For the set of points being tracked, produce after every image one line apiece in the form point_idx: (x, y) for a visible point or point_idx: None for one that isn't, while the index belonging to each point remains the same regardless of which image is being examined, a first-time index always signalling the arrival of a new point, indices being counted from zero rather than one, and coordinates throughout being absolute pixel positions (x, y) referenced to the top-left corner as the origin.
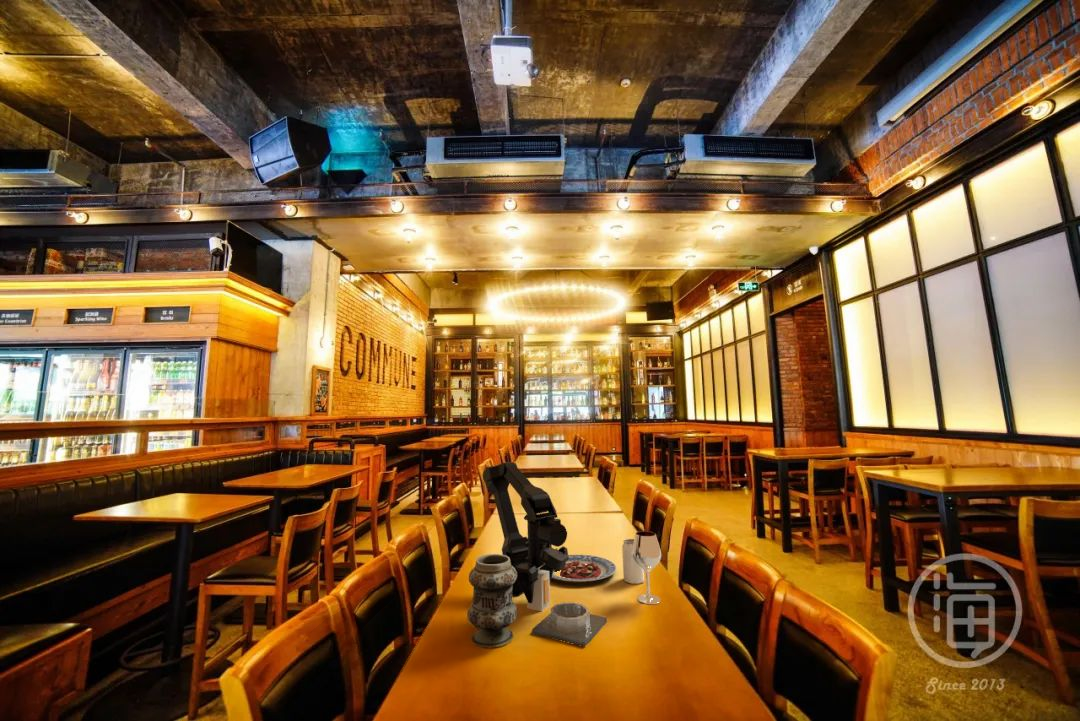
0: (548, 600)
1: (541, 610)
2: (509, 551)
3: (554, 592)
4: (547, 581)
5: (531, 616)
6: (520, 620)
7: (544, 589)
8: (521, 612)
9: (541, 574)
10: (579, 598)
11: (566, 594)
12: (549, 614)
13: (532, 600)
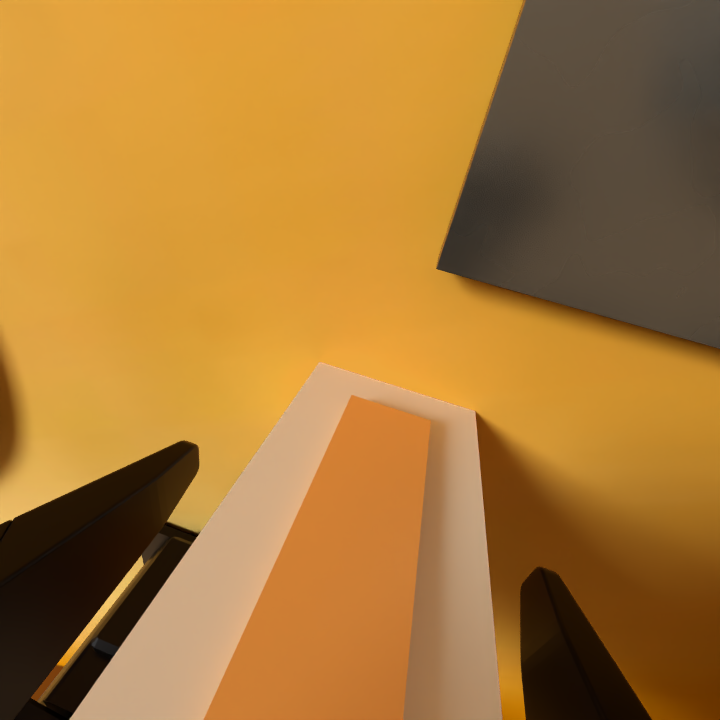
0: (357, 403)
1: (473, 421)
2: None
3: (88, 359)
4: (278, 677)
5: (593, 482)
6: (677, 550)
7: (415, 583)
8: (509, 544)
9: None
10: (41, 57)
11: (56, 248)
12: (706, 338)
13: (555, 593)
